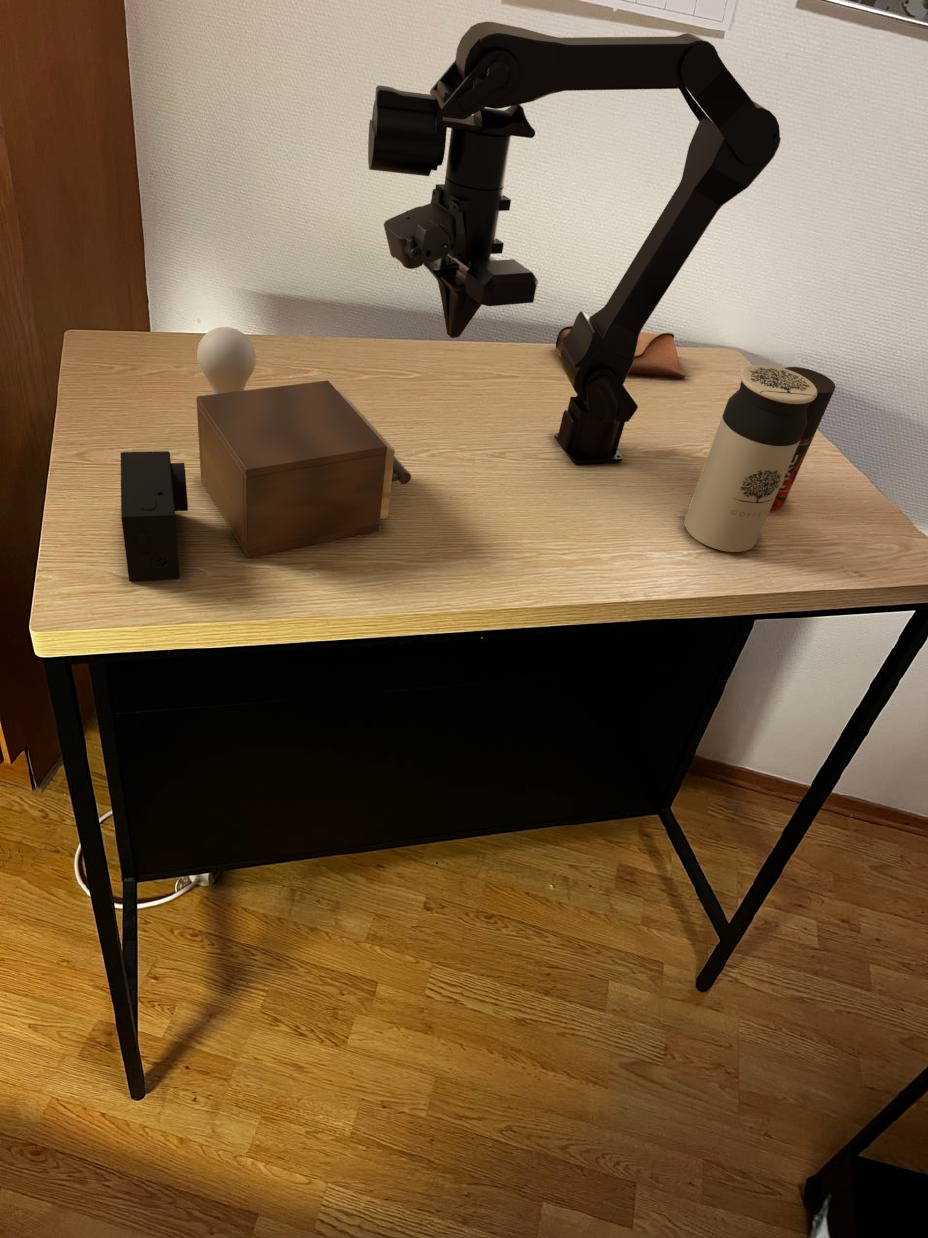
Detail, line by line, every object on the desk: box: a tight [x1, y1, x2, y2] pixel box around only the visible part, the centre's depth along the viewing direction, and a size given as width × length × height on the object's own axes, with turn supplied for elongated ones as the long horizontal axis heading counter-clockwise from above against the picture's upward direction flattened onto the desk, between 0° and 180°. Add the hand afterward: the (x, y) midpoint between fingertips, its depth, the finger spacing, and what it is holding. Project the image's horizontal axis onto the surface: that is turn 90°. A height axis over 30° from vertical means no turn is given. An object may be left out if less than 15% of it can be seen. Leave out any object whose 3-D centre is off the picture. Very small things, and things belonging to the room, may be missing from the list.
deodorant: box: [769, 366, 836, 513], centre depth 101 cm, size 6×6×15 cm
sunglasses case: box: [555, 325, 686, 378], centre depth 128 cm, size 18×7×7 cm, turn 102°
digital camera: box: [120, 450, 189, 582], centre depth 81 cm, size 10×5×7 cm, turn 17°
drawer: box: [336, 389, 412, 520], centre depth 89 cm, size 17×12×8 cm
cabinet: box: [195, 380, 387, 559], centre depth 88 cm, size 14×14×10 cm
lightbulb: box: [196, 326, 257, 395], centre depth 98 cm, size 6×6×11 cm
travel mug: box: [683, 364, 817, 553], centre depth 93 cm, size 8×8×18 cm
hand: (453, 336), depth 96 cm, fingers closed
